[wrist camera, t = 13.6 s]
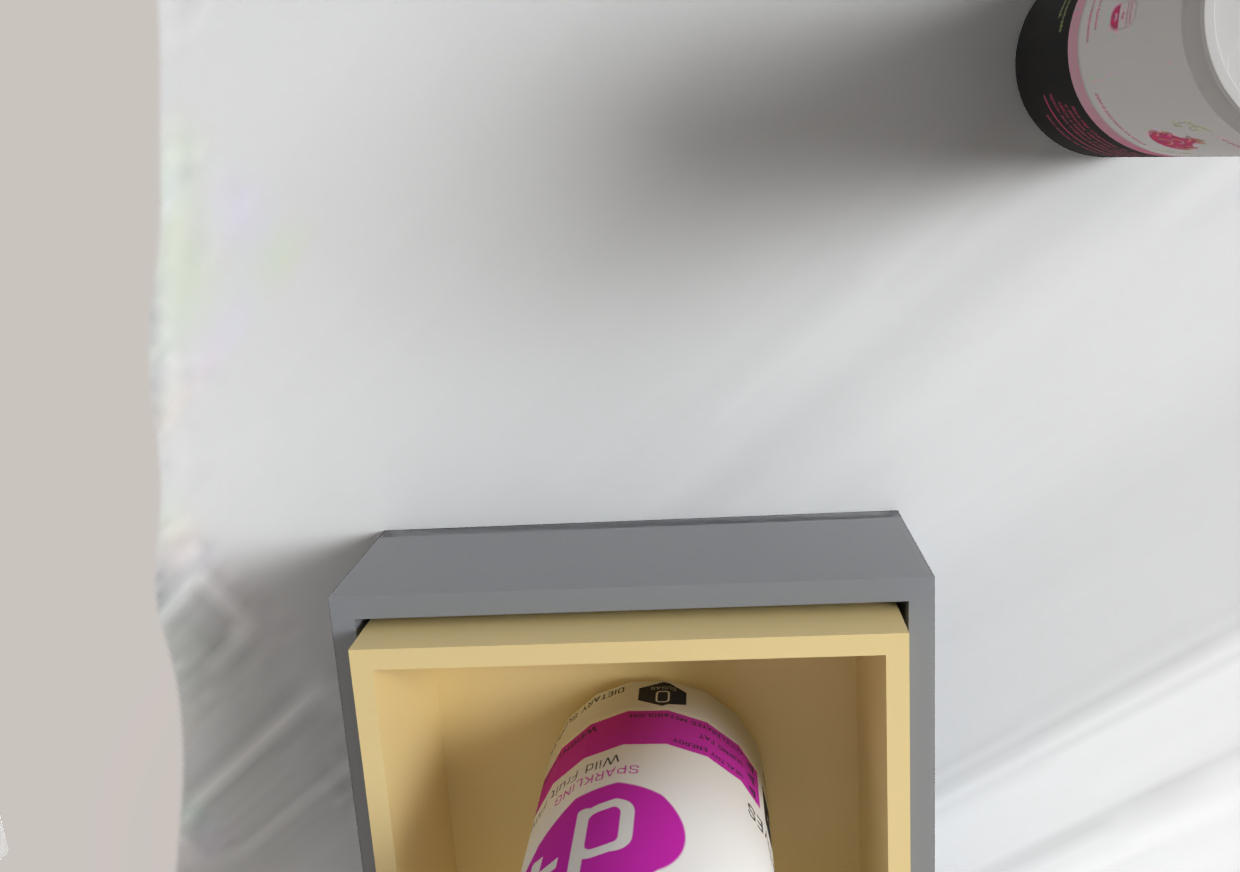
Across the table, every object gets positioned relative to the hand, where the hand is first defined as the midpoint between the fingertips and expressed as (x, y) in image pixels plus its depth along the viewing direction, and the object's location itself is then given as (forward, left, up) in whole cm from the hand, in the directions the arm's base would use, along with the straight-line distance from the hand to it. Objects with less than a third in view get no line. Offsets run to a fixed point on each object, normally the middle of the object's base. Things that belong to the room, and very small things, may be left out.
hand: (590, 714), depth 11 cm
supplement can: (+18, -1, -30) cm, 35 cm away
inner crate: (+18, -2, -31) cm, 35 cm away
